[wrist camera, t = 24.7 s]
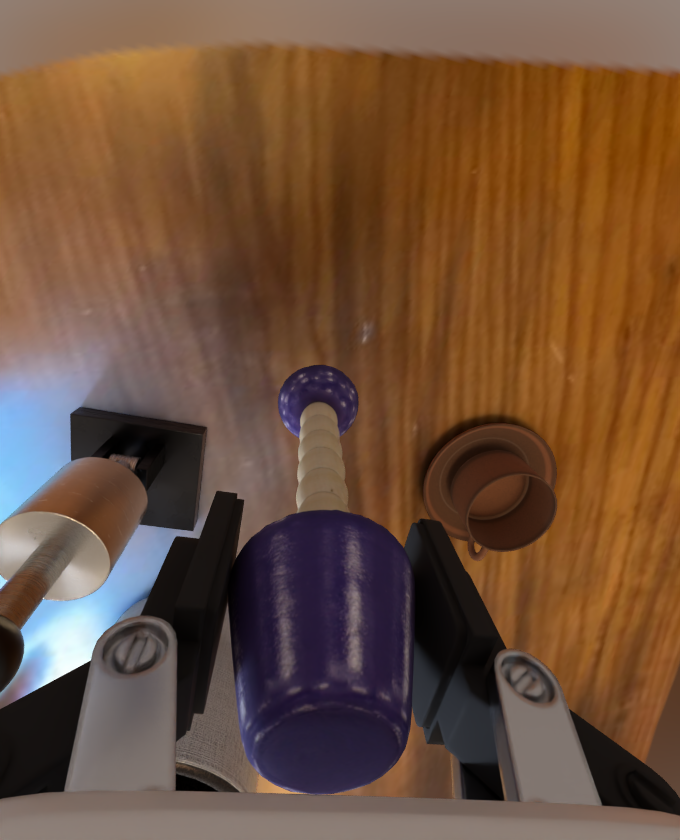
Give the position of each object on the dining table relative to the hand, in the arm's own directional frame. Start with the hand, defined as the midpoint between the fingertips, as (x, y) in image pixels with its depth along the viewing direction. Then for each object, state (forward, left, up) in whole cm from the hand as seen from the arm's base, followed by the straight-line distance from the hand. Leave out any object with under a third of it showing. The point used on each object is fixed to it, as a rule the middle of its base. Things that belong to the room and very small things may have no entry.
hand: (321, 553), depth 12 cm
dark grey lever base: (+12, -12, -24) cm, 30 cm away
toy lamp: (0, 0, -12) cm, 12 cm away
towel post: (+10, -12, -21) cm, 26 cm away
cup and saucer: (+8, +18, -24) cm, 31 cm away
